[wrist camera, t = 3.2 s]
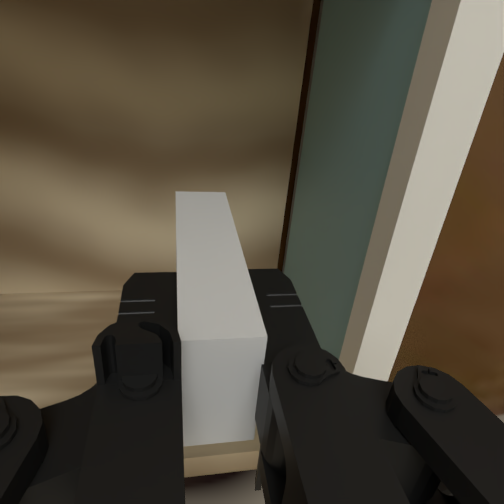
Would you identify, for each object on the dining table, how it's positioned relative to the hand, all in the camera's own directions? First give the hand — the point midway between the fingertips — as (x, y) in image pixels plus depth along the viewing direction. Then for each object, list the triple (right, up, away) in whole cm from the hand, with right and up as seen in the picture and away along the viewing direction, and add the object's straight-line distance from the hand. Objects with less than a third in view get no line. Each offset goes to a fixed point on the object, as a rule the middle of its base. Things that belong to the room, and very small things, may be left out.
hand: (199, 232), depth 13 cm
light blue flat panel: (+5, +5, +9) cm, 11 cm away
